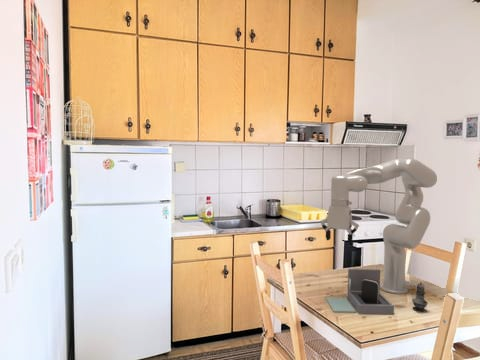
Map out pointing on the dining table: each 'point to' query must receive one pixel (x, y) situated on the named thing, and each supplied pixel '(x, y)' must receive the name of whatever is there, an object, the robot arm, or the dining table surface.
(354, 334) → the dining table surface
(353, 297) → the case
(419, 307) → the dark grey upright piece
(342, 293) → the dining table surface
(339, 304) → the rubber mat
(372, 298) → the battery charger
